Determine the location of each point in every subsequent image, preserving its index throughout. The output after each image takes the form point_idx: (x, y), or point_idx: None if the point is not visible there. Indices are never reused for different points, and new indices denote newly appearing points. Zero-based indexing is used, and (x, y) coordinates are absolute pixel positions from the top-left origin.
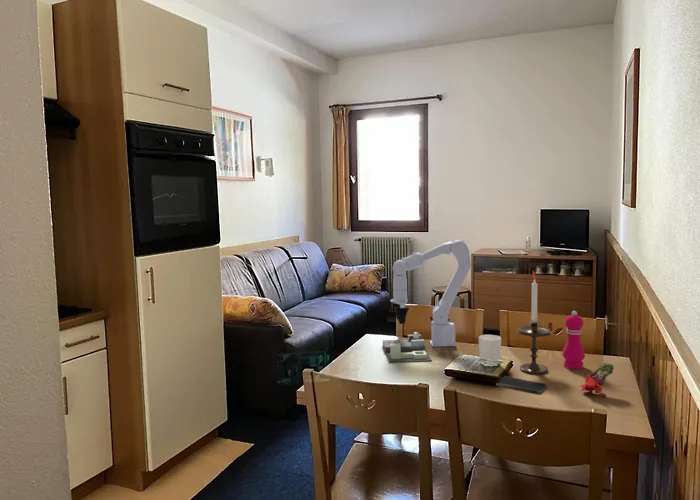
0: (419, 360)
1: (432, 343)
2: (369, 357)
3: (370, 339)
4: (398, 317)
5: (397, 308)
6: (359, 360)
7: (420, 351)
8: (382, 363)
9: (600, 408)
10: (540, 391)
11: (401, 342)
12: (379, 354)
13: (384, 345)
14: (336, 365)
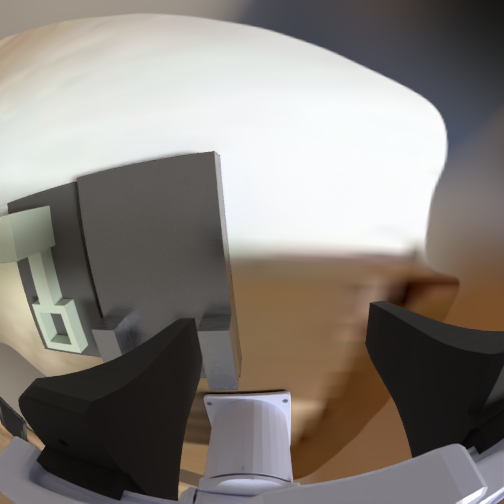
0: (32, 312)
1: (237, 400)
2: (56, 115)
3: (368, 96)
4: (139, 345)
5: (25, 408)
6: (36, 88)
7: (69, 336)
8: (7, 180)
9: (5, 441)
10: (4, 426)
11: (163, 272)
12: (84, 150)
13: (112, 169)
14: (20, 42)
